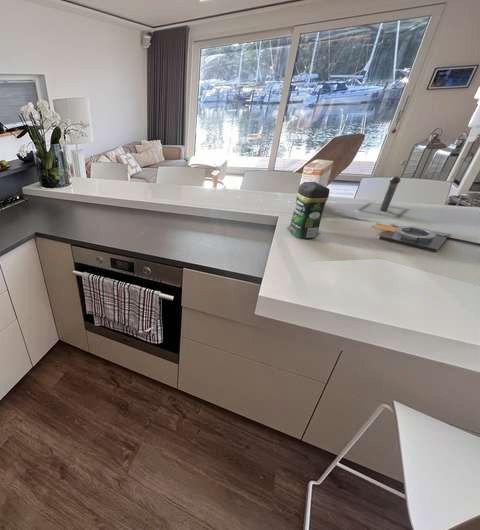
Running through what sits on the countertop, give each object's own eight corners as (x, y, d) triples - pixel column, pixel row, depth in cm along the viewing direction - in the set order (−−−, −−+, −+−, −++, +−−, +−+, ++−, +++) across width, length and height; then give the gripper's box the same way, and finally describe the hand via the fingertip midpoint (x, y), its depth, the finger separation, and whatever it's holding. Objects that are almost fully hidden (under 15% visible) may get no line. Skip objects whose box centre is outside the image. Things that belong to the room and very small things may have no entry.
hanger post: (406, 212, 114) (422, 175, 107) (396, 220, 108) (412, 182, 101) (369, 205, 123) (382, 171, 115) (358, 213, 117) (371, 177, 110)
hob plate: (447, 238, 94) (448, 235, 94) (435, 252, 87) (437, 249, 87) (393, 226, 104) (394, 224, 104) (379, 238, 98) (380, 235, 97)
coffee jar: (284, 229, 110) (295, 180, 100) (306, 228, 109) (319, 179, 99) (296, 240, 101) (310, 188, 92) (320, 239, 100) (336, 186, 91)
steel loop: (436, 235, 94) (438, 231, 93) (428, 244, 90) (430, 240, 89) (379, 223, 105) (381, 219, 104) (369, 230, 101) (371, 227, 100)
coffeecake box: (304, 203, 131) (315, 159, 121) (322, 206, 127) (335, 160, 117) (292, 213, 123) (303, 166, 113) (311, 216, 118) (324, 167, 108)
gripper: (508, 92, 81) (481, 144, 88) (518, 88, 91) (493, 135, 98) (475, 94, 86) (452, 143, 93) (488, 90, 96) (466, 134, 103)
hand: (473, 139), depth 96 cm, fingers open, 8 cm apart
